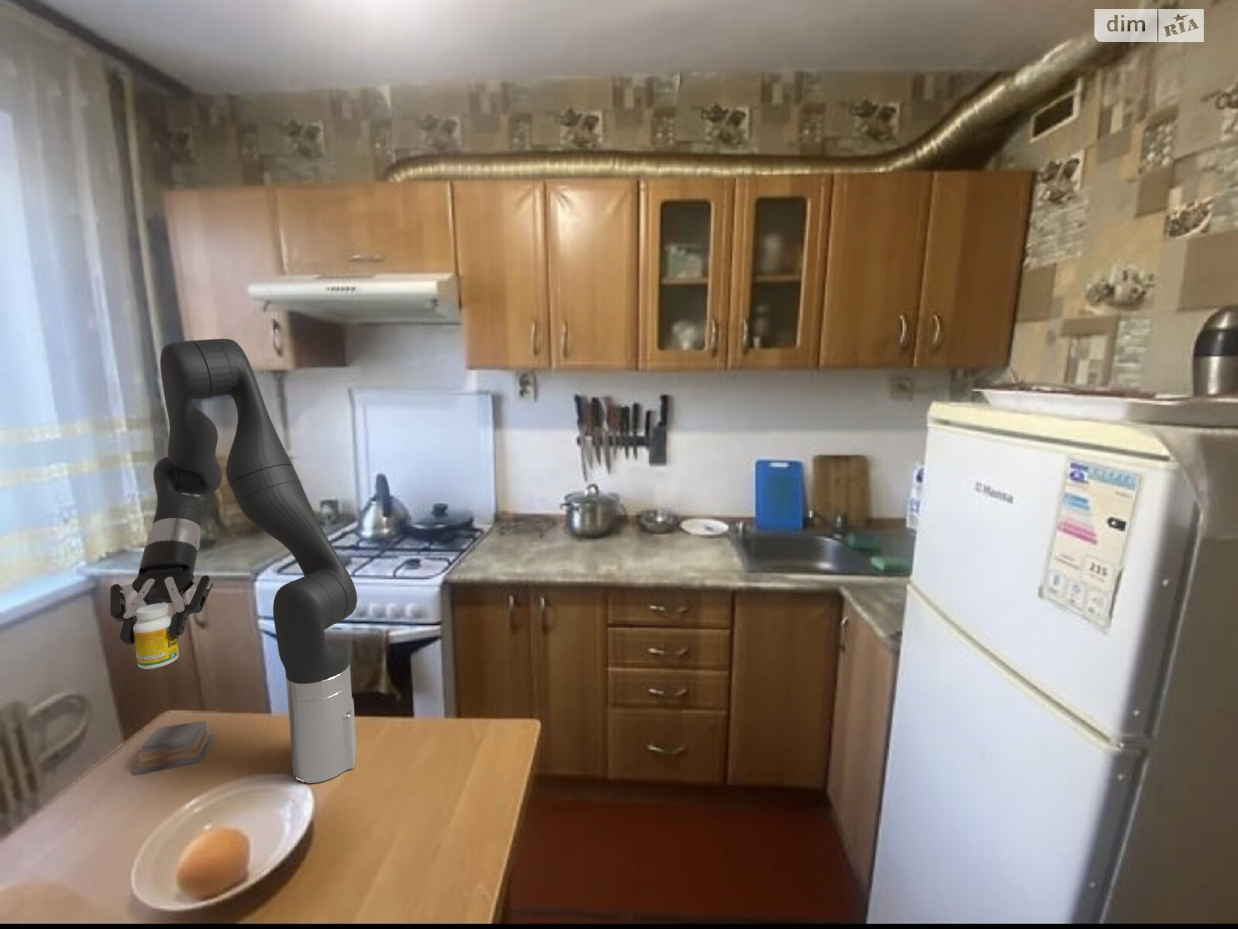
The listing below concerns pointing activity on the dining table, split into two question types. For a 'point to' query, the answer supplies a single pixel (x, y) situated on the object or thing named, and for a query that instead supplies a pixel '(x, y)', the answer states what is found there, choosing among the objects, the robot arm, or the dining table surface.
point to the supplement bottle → (154, 637)
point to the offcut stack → (174, 747)
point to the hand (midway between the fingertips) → (151, 639)
